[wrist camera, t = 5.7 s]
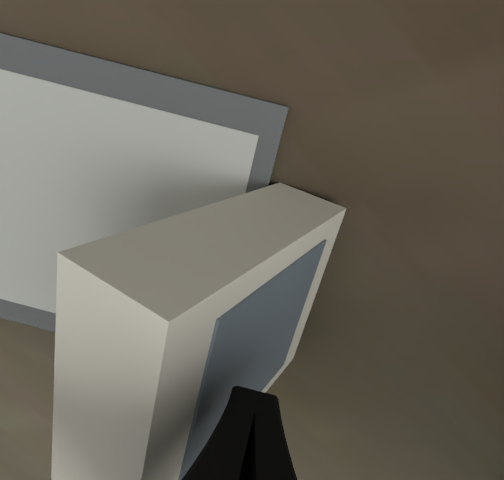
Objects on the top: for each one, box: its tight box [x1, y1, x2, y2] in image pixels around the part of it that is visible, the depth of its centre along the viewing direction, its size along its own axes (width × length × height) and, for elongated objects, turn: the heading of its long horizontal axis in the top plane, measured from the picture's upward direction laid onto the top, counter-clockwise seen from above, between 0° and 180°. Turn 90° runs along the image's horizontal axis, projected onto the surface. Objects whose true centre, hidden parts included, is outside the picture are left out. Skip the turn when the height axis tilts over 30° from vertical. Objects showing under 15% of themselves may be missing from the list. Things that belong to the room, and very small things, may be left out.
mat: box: [0, 32, 289, 332], centre depth 21 cm, size 18×16×1 cm
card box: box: [51, 183, 346, 480], centre depth 16 cm, size 4×9×12 cm, turn 167°
